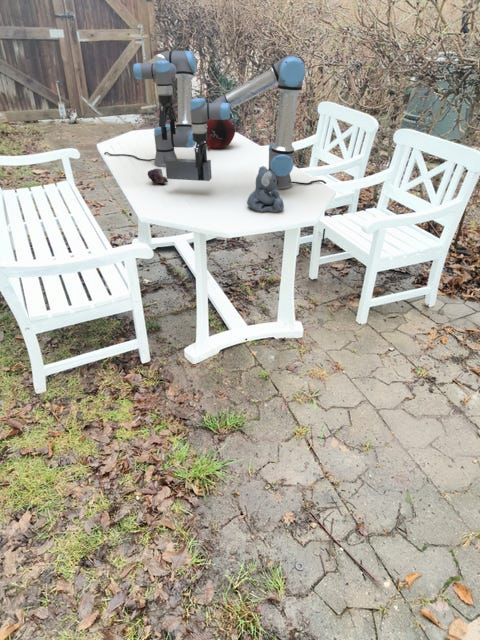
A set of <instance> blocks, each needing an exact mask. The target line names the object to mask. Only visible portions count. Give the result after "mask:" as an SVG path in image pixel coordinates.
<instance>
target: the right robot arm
mask: <svg viewBox="0 0 480 640" xmlns="http://www.w3.org/2000/svg"><path fill="white" fill-rule="evenodd" d="M305 77H306V66H305V63H304V62H303V61H302V59H301V58H299V57H298V56H296V55H294V54H289V55H285V56H283V57H282V58H281V59H280V60H278V61H277V62H275V63H274V64H272V65H270V67H269V69H268V70H266V71H264V72H262V73H261V74H259V75H257V76H256V77H253V78H252V79H250V80H248V81H246V82H245V83H243V84H241V85H240V86H238V87H236V88H234V89H232V90H231V91H229V92H227V93H225V94H223V95H222V96H220V97H217V98H215V99H214V100H213V102H207V101H206V99H205V98H203V97H196V98H192V100H191V101H190V107H191V109H190V110H191V122H192V132H193V134H192V136H193V141H195V142H196V144H195V147H194V159H195V160H196V168H197V169H198V180H204V179H203V168H202V160H208V154H207V153H208V152H207V144H206V142H205V141H207V133H206V132H207V127H208V126H207V124H206V123H207V122H206V121H208V120H225V119H228V120H229V119H230V118H231V110H233V109H235V108H236V107H238V106H240V105H241V104H244V103H246V102H247V101H248V100H251V99H253V98H255V97H256V96H259V95H260V94H262V93H264V92H265V91H268V90H270V89H271V88H273V87H275V86H277V90H278V91H279V93H280V94H279V102H278V103H279V104H278V113H277V121H276V132H275V142H273V143H272V142H271V143H270V144H269V145H268V146H269V147H268V169H269V170H271V171H272V173H273V174H274V176H275V177H276V179H277V180H278V181H279V184H278V185H277V186H276V187H275V190H276V189H277V190H278V191H279V190H280V191H281V190H287V189H290V188H291V187H292V186H293V184H295V185H304V186H305V185H311V184H314V183H320V182H321V183H323V184H325V185H326V184H327V182H326V181H325V180H324V179H315V180H311V181H309V182H299V181H293V180H292V177H291V172H292V171H293V169H294V154H295V147H293V139H294V130H295V122H296V116H297V115H296V114H297V105H298V98H299V94H300V93H301V91H302V90H303V83H304V79H305ZM325 234H326V228H323V231H322V241H321V244H322V245H324V244H325V236H326V235H325Z"/></svg>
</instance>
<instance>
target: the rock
mask: <svg viewBox="0 0 480 640" xmlns="http://www.w3.org/2000/svg"><path fill="white" fill-rule="evenodd" d="M147 176H148V179H149V180H150V181H151V183H153V184H156V185H157V184H166V183H168V179H167V176H164V175H163V171H162V169H161V168H153V169H151V170H148V171H147Z"/></svg>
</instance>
